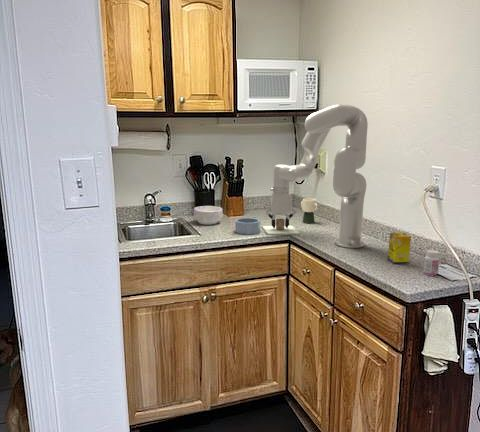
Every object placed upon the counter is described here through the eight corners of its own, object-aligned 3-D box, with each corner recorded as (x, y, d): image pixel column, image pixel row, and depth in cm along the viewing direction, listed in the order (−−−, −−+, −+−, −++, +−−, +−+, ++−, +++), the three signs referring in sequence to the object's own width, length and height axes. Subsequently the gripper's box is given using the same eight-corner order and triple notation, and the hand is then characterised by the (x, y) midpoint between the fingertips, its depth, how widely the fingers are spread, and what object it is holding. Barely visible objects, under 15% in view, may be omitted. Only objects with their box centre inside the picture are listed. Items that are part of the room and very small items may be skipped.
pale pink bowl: (222, 226, 231) (222, 211, 229) (192, 226, 230) (192, 210, 229) (223, 220, 246) (223, 205, 244) (195, 219, 245) (194, 205, 244)
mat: (300, 235, 213) (300, 234, 212) (266, 236, 211) (266, 235, 211) (292, 228, 228) (292, 226, 228) (261, 228, 226) (261, 227, 226)
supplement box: (387, 259, 177) (389, 232, 174) (402, 259, 177) (404, 232, 175) (393, 264, 171) (395, 236, 169) (408, 264, 171) (411, 236, 169)
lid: (298, 234, 213) (299, 222, 212) (267, 234, 211) (267, 222, 210) (291, 227, 227) (292, 215, 226) (262, 227, 226) (262, 216, 225)
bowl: (261, 235, 212) (262, 223, 211) (236, 235, 211) (236, 223, 210) (257, 229, 224) (258, 217, 223) (233, 229, 223) (234, 218, 222)
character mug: (320, 224, 238) (322, 199, 235) (312, 226, 233) (313, 201, 230) (304, 220, 245) (305, 197, 243) (296, 222, 241) (297, 198, 238)
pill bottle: (433, 277, 157) (435, 254, 155) (420, 273, 160) (422, 250, 159) (440, 274, 159) (443, 251, 158) (428, 271, 163) (430, 248, 161)
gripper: (264, 191, 211) (264, 229, 214) (300, 191, 213) (299, 228, 216) (262, 189, 218) (261, 225, 222) (297, 189, 220) (295, 225, 224)
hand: (280, 227), depth 219 cm, fingers open, 5 cm apart
